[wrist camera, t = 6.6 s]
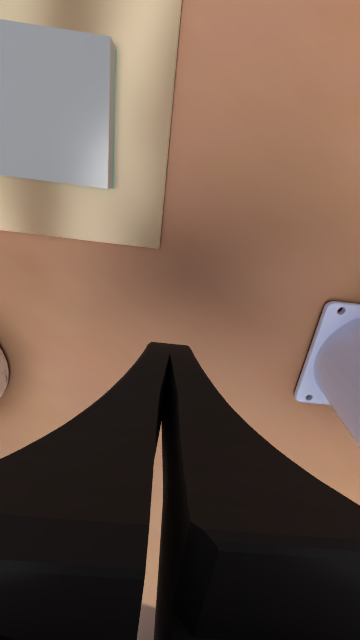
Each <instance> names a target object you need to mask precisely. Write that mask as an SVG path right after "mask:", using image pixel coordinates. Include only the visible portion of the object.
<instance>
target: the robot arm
mask: <svg viewBox="0 0 360 640" xmlns="http://www.w3.org/2000/svg"><path fill="white" fill-rule="evenodd" d="M341 307H343V308H342V310H341V311H340V312H337V310H338V309H339V308H341ZM307 395H310V396H309V397H306V396H307ZM294 396H295V398H296V400H297V401H299V402H306V403H317V404H327V405H331V406H332V408H333V409H334V410H335V412H336V413H337V415H338V416H339V418H340V419H341V421H342V422H343V424H344V425H345V427H346V428H347V430H348V431H349V432H350V434H351V435H352V437H353V438H354V440H355V441H356V443H357V444H358V446H359V447H360V304H356V303H347V302H338V301H330V302H328V303H327V304H326V305H325V306H324V309H323V312H322V315H321V317H320V320H319V323H318V326H317V329H316V332H315V335H314V338H313V341H312V344H311V346H310V349H309V352H308V355H307V358H306V361H305V364H304V367H303V370H302V373H301V375H300V378H299V381H298V384H297V387H296V390H295V393H294ZM161 421H162V459H163V508H162V524H161V540H160V556H159V571H158V586H157V600H156V615H155V630H154V640H360V505H358V504H356V503H355V502H353V501H352V500H350V499H348V498H347V497H345V496H344V495H342V494H340V493H339V492H337V491H336V490H334V489H333V488H331V487H329V486H328V485H326V484H325V483H323V482H321V481H320V480H318V479H317V478H315V477H314V476H312V475H311V474H310V473H308V472H307V471H305V470H304V469H303V468H301V467H300V466H298V465H297V464H296V463H294V462H293V461H292V460H290V459H289V458H288V457H286V456H285V455H284V454H282V453H281V452H280V451H279V450H277V449H276V448H275V447H273V446H272V445H271V444H270V443H269V442H268V441H266V440H265V439H264V438H263V437H262V436H261V435H259V434H258V433H257V432H256V431H255V430H254V429H253V428H252V427H250V426H249V425H248V424H247V423H246V422H245V421H244V420H243V419H242V418H241V417H240V416H239V415H238V414H237V413H236V412H235V411H234V410H233V409H232V408H231V406H230V405H229V404H228V403H227V402H226V401H225V399H224V398H223V397H222V396H221V394H220V393H219V392H218V391H217V389H216V388H215V387H214V385H213V384H212V382H211V381H210V380H209V378H208V377H207V375H206V374H205V372H204V371H203V369H202V368H201V366H200V364H199V363H198V361H197V359H196V358H195V356H194V354H193V352H192V350H191V349H190V347H189V346H186V345H176V344H167V343H157V342H151V343H149V344H148V345H147V347H146V349H145V351H144V352H143V353H142V355H141V356H140V357H139V359H138V360H137V361H136V362H135V364H134V365H133V366H132V367H131V368H130V369H129V371H128V372H127V373H126V374H125V375H124V376H123V377H122V378H121V379H120V380H119V381H118V382H117V383H116V384H115V385H114V386H113V387H112V388H111V389H110V390H109V391H108V392H107V393H105V394H104V395H103V396H102V397H101V398H100V399H98V400H97V401H96V402H95V403H93V404H92V405H91V406H90V407H88V408H87V409H86V410H84V411H83V412H81V413H80V414H79V415H77V416H76V417H74V418H73V419H72V420H70V421H69V422H67V423H66V424H64V425H63V426H61V427H59V428H58V429H56V430H54V431H53V432H51V433H49V434H48V435H46V436H44V437H42V438H41V439H39V440H37V441H35V442H33V443H31V444H29V445H28V446H26V447H24V448H22V449H20V450H18V451H16V452H14V453H12V454H10V455H8V456H6V457H3V458H1V459H0V640H137V632H138V625H139V617H140V610H141V602H142V594H143V587H144V579H145V569H146V557H147V546H148V534H149V522H150V507H151V493H152V479H153V465H154V458H155V453H156V447H157V442H158V437H159V431H160V426H161Z"/></svg>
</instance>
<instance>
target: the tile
mask: <svg viewBox="0 0 360 640" xmlns="http://www.w3.org/2000/svg"><path fill="white" fill-rule="evenodd" d="M116 59H117V49H116V47H115V45H114V43H113V40H112V38H111V36H106V35H99V34H93V33H86V32H80V31H74V30H67V29H61V28H54V27H48V26H41V25H35V24H29V23H22V22H16V21H9V20H3V19H0V175H3V176H11V177H19V178H27V179H35V180H42V181H50V182H58V183H66V184H73V185H81V186H89V187H97V188H104V189H112V188H113V180H114V140H115V99H116Z"/></svg>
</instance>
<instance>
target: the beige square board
mask: <svg viewBox="0 0 360 640" xmlns="http://www.w3.org/2000/svg"><path fill="white" fill-rule="evenodd" d="M181 5H182V0H0V19H3V20H9V21H16V22H22V23H29V24H35V25H41V26H48V27H54V28H61V29H67V30H74V31H80V32H86V33H93V34H99V35H106V36H111V38H112V40H113V43H114V45H115V47H116V49H117V59H116V99H115V140H114V180H113V188H112V189H104V188H97V187H89V186H81V185H73V184H66V183H58V182H50V181H42V180H35V179H27V178H19V177H11V176H3V175H0V230H4V231H13V232H21V233H29V234H38V235H46V236H55V237H63V238H71V239H80V240H88V241H96V242H105V243H113V244H122V245H130V246H138V247H147V248H155V249H159V248H160V237H161V226H162V215H163V204H164V193H165V182H166V171H167V160H168V149H169V138H170V127H171V116H172V105H173V94H174V83H175V72H176V61H177V50H178V39H179V28H180V16H181Z"/></svg>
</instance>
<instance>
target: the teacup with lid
mask: <svg viewBox="0 0 360 640" xmlns="http://www.w3.org/2000/svg"><path fill="white" fill-rule="evenodd" d="M8 378H9V371H8V365H7V361H6V358H5V356H4V354H3V352H2V350H1V348H0V398H1V396H2V395H3V393H4V392H5V389H6V387H7V384H8Z"/></svg>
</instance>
